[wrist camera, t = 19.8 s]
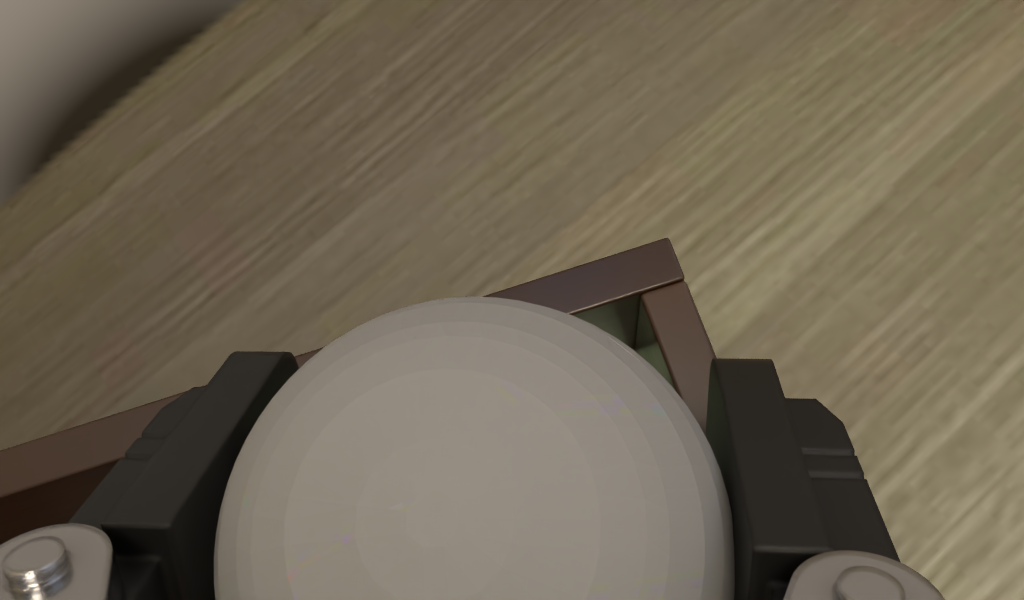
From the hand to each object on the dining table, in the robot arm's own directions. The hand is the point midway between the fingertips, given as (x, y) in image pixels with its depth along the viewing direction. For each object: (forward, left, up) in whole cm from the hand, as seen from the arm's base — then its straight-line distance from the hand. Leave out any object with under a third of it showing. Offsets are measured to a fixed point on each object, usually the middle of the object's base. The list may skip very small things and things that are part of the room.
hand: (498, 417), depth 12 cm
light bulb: (-1, -2, -6) cm, 6 cm away
